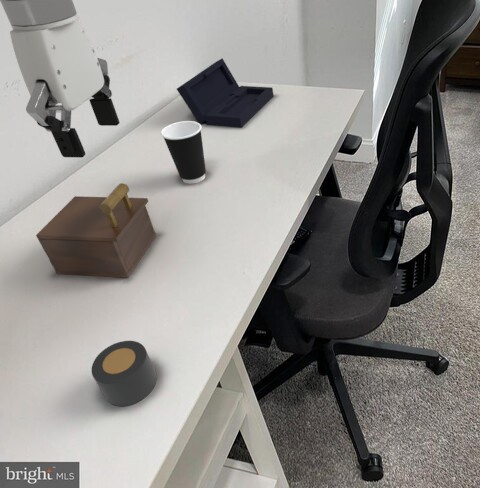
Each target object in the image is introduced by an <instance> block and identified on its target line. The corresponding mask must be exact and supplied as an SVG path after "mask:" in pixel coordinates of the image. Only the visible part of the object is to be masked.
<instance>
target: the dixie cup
mask: <svg viewBox="0 0 480 488" xmlns="http://www.w3.org/2000/svg"><path fill="white" fill-rule="evenodd" d="M202 128H203V127H202V124H201V123H200V124H199V123H198V121H194V120H183V121H177V122H174V123H171V124H168V125H166V126H165V127H163V128H162V129H161V131H160V136H161V138H163V140H164V143H165V145H166V147H167V150H168V151H169V154H170V156H171V159H172V161H173V163H174V166H175V168H176V170H177V174H178V175H179V177H180V179H181V180H182V182H183V183H185V184H191V185H192V184H197V183H200V182H202V181H203V180H205V178H206V173H207V169H206V161H205V153H204V145H203V137H202V136H203V135H202Z"/></svg>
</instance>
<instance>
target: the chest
mask: <svg viewBox="0 0 480 488" xmlns="http://www.w3.org/2000/svg"><path fill="white" fill-rule="evenodd" d="M146 205H147V204H146ZM146 205H145V207H144V208H143V209H142V211H141V212H140V213H139V214H138V216H137V217H136V218H135V220H134V221H133V222H132V224H131V225H130V226H129V227H128V229H127V230H126V231H125V233H124V234H123V235H122V237H121V238H120V239H119V240H118V242H110V241H85V240H60V239H38V238H37V239H38V242H39V244H40V245H41V248H42V249H43V251H44V253H45V255H46V256H47V258H48V260H49V262H50V264H51V266H52V268H53V270H54V271H55V273H56V275H64V276H65V275H67V276H68V275H69V276H87V277H105V278H125V279H128V278H129V277H130V275H131V274H132V273H133V271H134V270H135V268H136V267H137V265H138V264H139V262H140V261H141V259H142V258H143V256H144V255H145V254H146V252H147V251H148V249H149V247H150V246H151V245H152V243H153V241H155V239H156V238H157V235H156V234H157V233H156V231H155V229H154V226H153V222H152V220H151V217H150V214H149V210H148V209H147V206H146Z"/></svg>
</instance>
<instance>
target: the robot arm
mask: <svg viewBox="0 0 480 488" xmlns="http://www.w3.org/2000/svg"><path fill="white" fill-rule="evenodd" d="M0 4H1V6H2V8H3V11H4V13H5V15H6V17H7V19H8V22H9V24H10V26H11V30H10V31H9V34H10V39H11V40H10V41H11V44H12V48H13V51H14V52H13V53H14V56H15V58H16V61H17V64H18V68H19V70H20V73H21V75H22V78H23V81H24V83H25V86H26V88H27V91H28V93H29V96H30V98H29V99H28V102H27V104H26V107H25V111H26V113H27V115H29V116H30V117H31V118H32V119H33V120H34V121H36V124H37V125H38V126H40V128H41V127H42V128H43V129H45V131H46V132H49V133H51V134H52V137H53V139H54V142H55V143H56V145H57V148H58V150H59V153H60V154H61V156H62V157H63V158H84V157H85V156H86V151H85V148H84V146H83V144H82V142H81V138H80V136H79V134H78V131H77V130H76V127H72V126H71V125H72V112H73V111H74V110H76V109H77V108H79V107H80V106H81V105H83V104H84V103H85V102H87V101H88V100H89V101H88V102H89V104H90V106H91V109H92V111H93V114H94V117H95V119H96V122H97V124H98V126H103V127H104V126H107V127H108V126H109V127H111V126H112V127H116V126H119V125H120V119H119V116H118V113H117V111H116V108H115V105H114V103H113V100H112V97H113V92H112V90H111V89H110V85H111V84H110V83H111V79H110V76H109V70H108V69H109V68H108V61H107V60H106V59H103V58H99V57H98V55H97V54H96V51H95V49H94V47H93V44H92V42H91V40H90V38H89V35H88V33H87V31H86V28H85V27H84V25H83V23H82V21H81V19H80V17H79V15H78V12H77V9H76V7H75V4H74V1H73V0H0ZM59 104H60V105H59ZM58 113H60V119H58V118H56V116H57V114H58Z"/></svg>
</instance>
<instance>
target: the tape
mask: <svg viewBox="0 0 480 488" xmlns="http://www.w3.org/2000/svg"><path fill="white" fill-rule="evenodd" d="M91 376H92V378H93V379H94V381H95V383H96V384H97V386H98V388H99V389H100V391H101V392H102V395H103V396H104V398H105V399H106V401H107V402H108V403H109V404H111V405H113V406H116V407H127V406H132V405H134V404H137V403H140V402H141V401H142V400H144V399H145V398H146V397H148V396H149V395H150V393H151V392H152V391H153V390H154V388H155V386H156V384H157V381H158V380H157V379H158V376H157V372H156V369H155V366H154V364H153V362H152V361H151V358H150V356H149V354H148V352H147V349H146V347H145V346H144V345H143V344H142V343H140V342H138V341H135V340H123V341H118V342H115V343H113V344H111V345H109V346H107V347H106V348H103V350H102V351H101V352H100V353H99V354H97V356H96V357H95V359H94V360H93V361H92V365H91Z"/></svg>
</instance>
